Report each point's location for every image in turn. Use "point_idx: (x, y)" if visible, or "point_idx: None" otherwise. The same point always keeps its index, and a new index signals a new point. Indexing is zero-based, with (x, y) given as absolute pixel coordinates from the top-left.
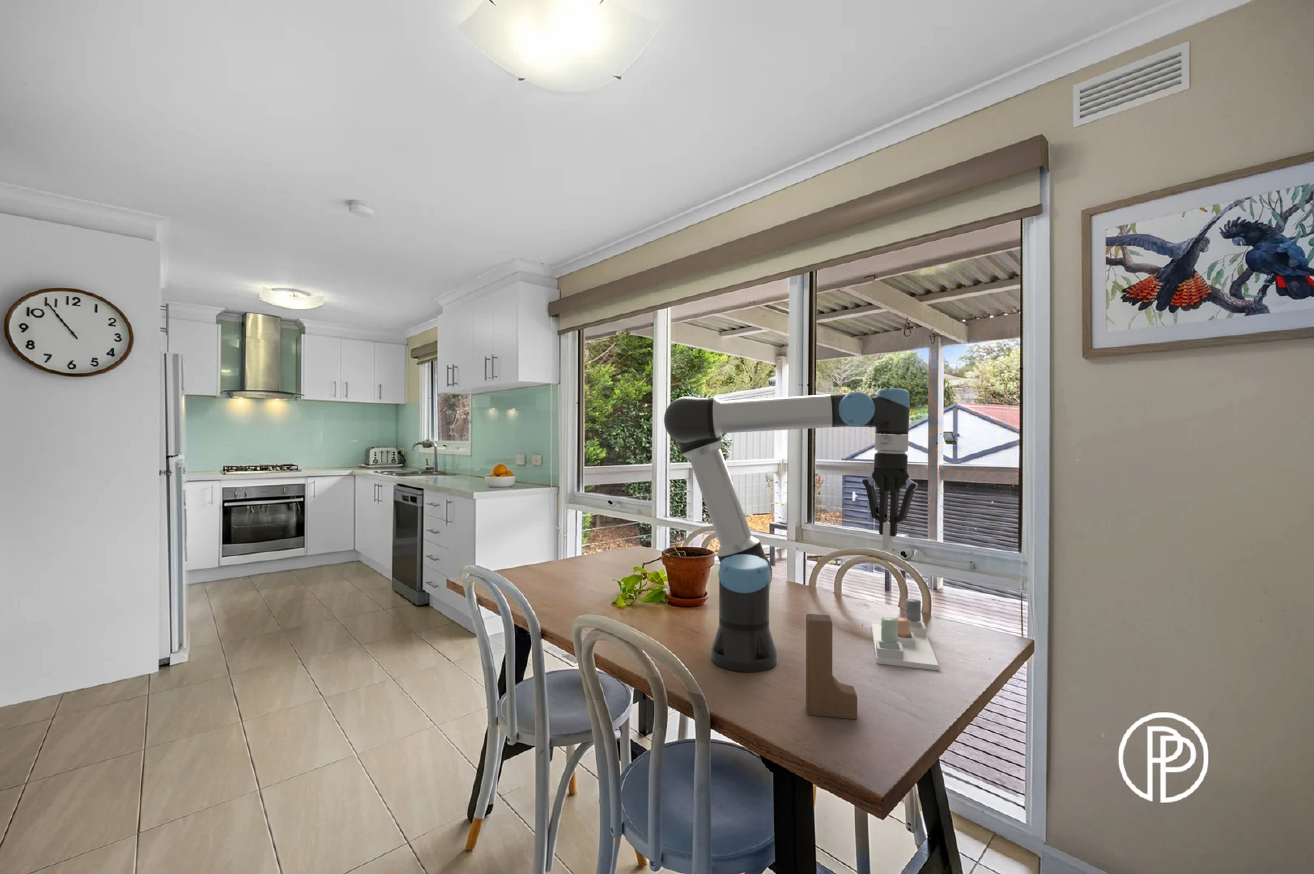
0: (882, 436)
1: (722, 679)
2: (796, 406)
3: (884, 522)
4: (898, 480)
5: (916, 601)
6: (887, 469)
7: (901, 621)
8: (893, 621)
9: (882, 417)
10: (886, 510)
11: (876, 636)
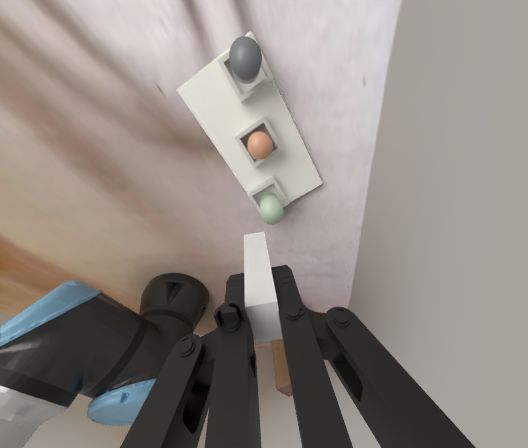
0: None
1: (201, 325)
2: None
3: (255, 337)
4: None
5: (253, 59)
6: None
7: (263, 155)
8: (280, 218)
9: None
10: (251, 390)
11: (222, 148)
